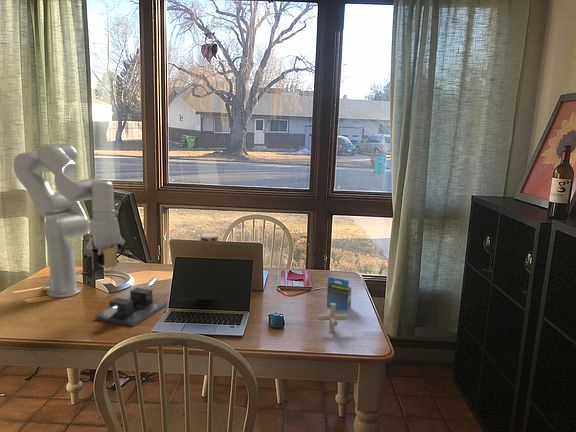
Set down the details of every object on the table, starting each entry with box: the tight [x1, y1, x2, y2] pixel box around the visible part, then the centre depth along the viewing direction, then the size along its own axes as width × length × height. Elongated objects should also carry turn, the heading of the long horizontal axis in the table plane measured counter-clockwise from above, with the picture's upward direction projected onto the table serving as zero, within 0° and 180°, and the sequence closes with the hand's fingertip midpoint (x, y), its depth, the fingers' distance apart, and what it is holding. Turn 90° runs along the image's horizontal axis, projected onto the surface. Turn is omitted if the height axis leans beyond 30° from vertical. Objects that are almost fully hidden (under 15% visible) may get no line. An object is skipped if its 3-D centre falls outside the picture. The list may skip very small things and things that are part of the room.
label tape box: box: [326, 276, 352, 311], centre depth 184 cm, size 9×4×12 cm, turn 62°
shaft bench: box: [95, 277, 167, 327], centre depth 175 cm, size 16×29×9 cm, turn 160°
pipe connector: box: [317, 303, 348, 333], centre depth 163 cm, size 10×10×10 cm
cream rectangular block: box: [97, 245, 118, 269], centre depth 175 cm, size 4×6×7 cm
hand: (107, 262), depth 175 cm, fingers closed on cream rectangular block, 4 cm apart
